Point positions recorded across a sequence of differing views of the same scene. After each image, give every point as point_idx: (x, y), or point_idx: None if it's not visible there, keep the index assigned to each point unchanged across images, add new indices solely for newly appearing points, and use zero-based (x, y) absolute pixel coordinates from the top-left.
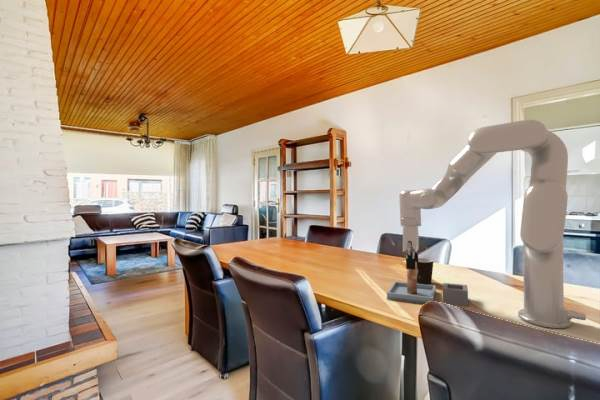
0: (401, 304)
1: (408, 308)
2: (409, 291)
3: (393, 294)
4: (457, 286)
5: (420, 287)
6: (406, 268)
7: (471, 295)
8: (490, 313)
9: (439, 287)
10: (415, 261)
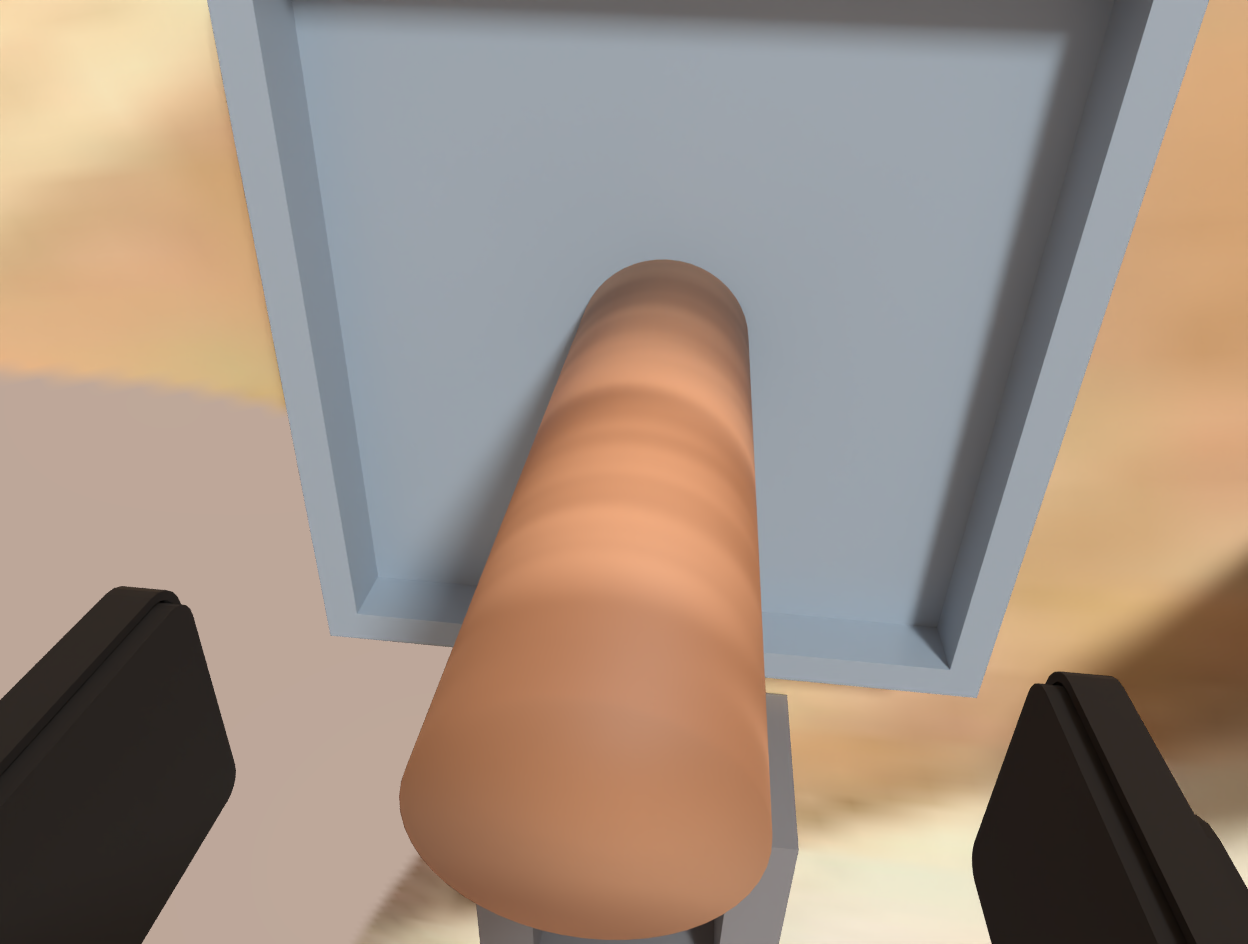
0: (155, 192)
1: (64, 303)
2: (581, 319)
3: (227, 37)
4: (717, 939)
5: (986, 470)
6: (122, 587)
7: (879, 909)
8: (396, 928)
9: (1202, 681)
10: (1004, 883)
